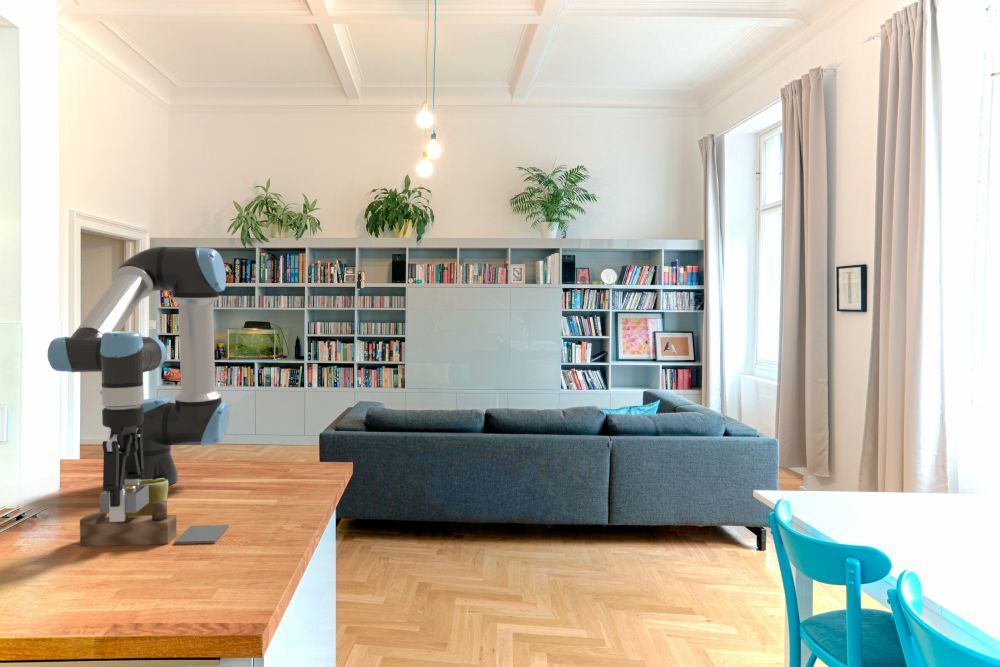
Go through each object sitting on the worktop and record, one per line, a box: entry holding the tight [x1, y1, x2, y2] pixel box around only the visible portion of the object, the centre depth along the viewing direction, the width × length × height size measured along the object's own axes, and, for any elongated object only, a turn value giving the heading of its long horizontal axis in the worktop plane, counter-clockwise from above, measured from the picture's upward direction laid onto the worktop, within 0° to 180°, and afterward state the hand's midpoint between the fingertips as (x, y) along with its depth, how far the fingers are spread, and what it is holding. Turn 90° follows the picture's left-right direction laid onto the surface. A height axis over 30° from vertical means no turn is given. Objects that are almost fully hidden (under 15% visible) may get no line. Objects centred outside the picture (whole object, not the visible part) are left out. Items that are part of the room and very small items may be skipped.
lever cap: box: [99, 484, 149, 514], centre depth 140 cm, size 7×6×5 cm
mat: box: [174, 524, 229, 545], centre depth 144 cm, size 10×8×1 cm
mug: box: [125, 478, 169, 516], centre depth 158 cm, size 12×10×10 cm
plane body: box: [79, 501, 177, 547], centre depth 140 cm, size 17×5×8 cm, turn 97°
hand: (125, 514), depth 140 cm, fingers closed on lever cap, 6 cm apart
